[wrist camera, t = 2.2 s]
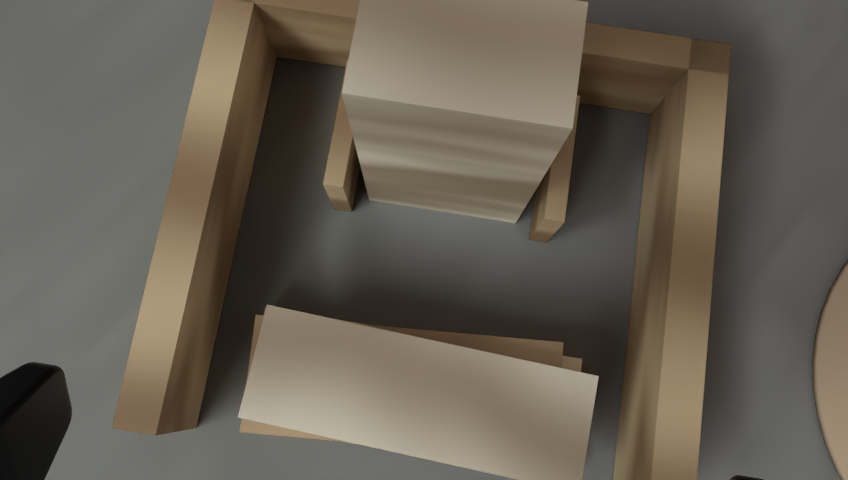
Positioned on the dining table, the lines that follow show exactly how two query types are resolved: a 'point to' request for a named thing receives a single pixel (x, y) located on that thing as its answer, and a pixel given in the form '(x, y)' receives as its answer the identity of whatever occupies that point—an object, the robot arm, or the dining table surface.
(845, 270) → the cork mat
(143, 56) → the dining table surface
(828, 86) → the dining table surface
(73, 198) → the dining table surface
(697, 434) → the frame
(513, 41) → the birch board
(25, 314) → the dining table surface
